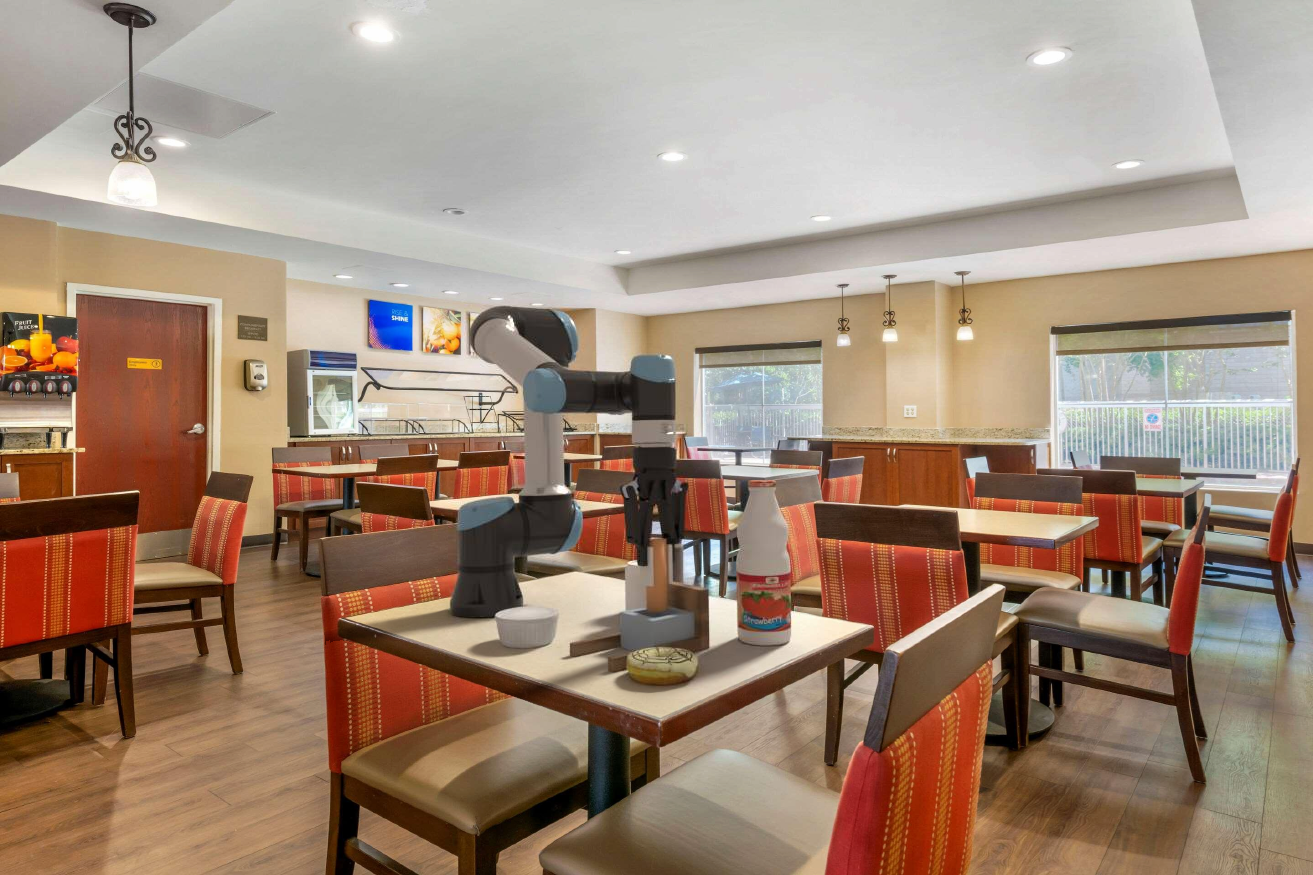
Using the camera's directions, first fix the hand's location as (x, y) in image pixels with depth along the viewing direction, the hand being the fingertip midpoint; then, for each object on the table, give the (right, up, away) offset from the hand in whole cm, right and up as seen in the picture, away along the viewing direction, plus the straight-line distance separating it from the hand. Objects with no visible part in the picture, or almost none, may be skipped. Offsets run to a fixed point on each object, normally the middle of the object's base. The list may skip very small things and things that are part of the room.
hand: (656, 583), depth 129 cm
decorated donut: (+1, -11, -15) cm, 19 cm away
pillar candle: (+1, -11, +28) cm, 31 cm away
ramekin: (-23, -12, +5) cm, 26 cm away
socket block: (0, -11, 0) cm, 11 cm away
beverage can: (-2, -11, +16) cm, 20 cm away
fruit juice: (+19, -11, +4) cm, 22 cm away
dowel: (0, -4, 0) cm, 4 cm away
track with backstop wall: (-3, -11, -2) cm, 12 cm away
